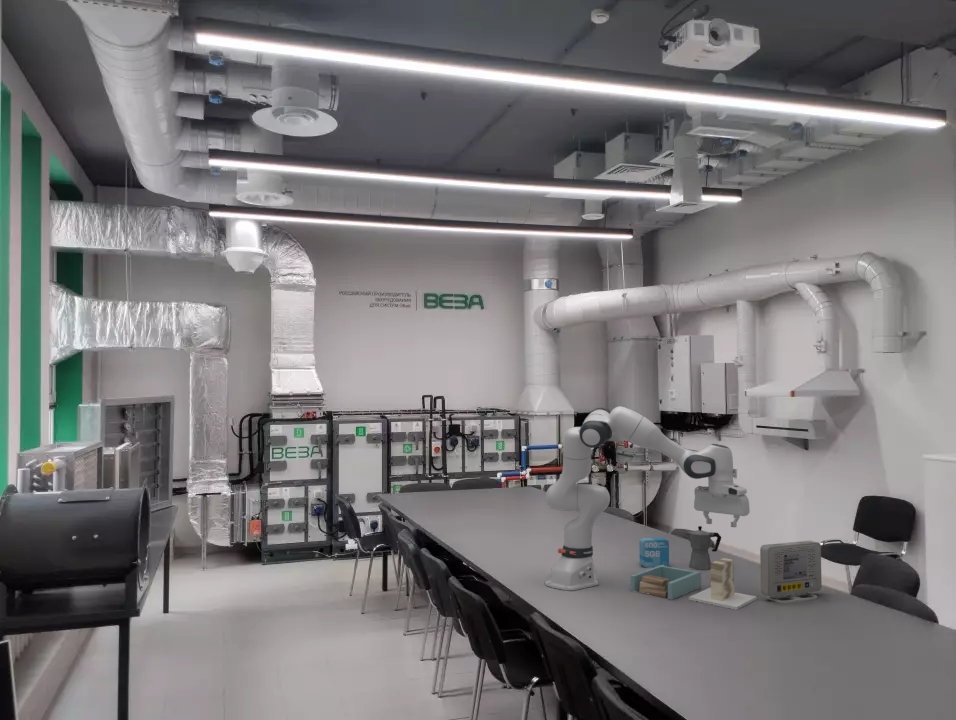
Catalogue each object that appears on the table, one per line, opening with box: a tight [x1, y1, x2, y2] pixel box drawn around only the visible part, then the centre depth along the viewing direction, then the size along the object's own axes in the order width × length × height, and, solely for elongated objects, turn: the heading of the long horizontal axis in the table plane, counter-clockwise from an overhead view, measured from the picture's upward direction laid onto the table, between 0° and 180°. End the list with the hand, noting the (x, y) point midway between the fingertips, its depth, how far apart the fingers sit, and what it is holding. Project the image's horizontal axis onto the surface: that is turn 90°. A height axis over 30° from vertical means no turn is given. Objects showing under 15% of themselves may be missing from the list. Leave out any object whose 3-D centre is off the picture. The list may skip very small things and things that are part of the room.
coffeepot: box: [684, 525, 722, 571], centre depth 314 cm, size 15×9×18 cm, turn 72°
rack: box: [630, 565, 702, 601], centre depth 279 cm, size 24×17×6 cm
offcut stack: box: [638, 575, 669, 598], centre depth 273 cm, size 5×11×6 cm, turn 47°
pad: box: [688, 587, 757, 611], centre depth 265 cm, size 18×18×1 cm
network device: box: [759, 540, 823, 604], centre depth 268 cm, size 26×9×20 cm, turn 111°
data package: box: [638, 537, 670, 569], centre depth 316 cm, size 12×4×12 cm, turn 99°
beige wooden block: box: [710, 557, 735, 601], centre depth 265 cm, size 11×4×13 cm, turn 137°
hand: (721, 525), depth 267 cm, fingers open, 8 cm apart
